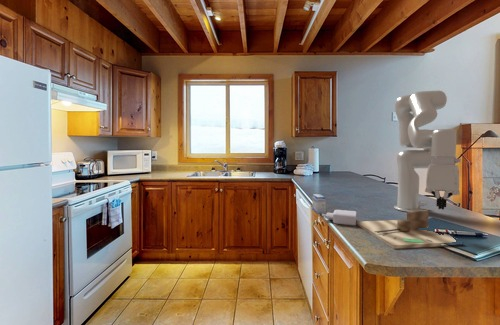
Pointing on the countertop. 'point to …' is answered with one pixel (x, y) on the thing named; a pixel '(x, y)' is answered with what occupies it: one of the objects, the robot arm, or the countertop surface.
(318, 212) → the medicine box
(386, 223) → the board
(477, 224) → the countertop surface
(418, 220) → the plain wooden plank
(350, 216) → the charger
